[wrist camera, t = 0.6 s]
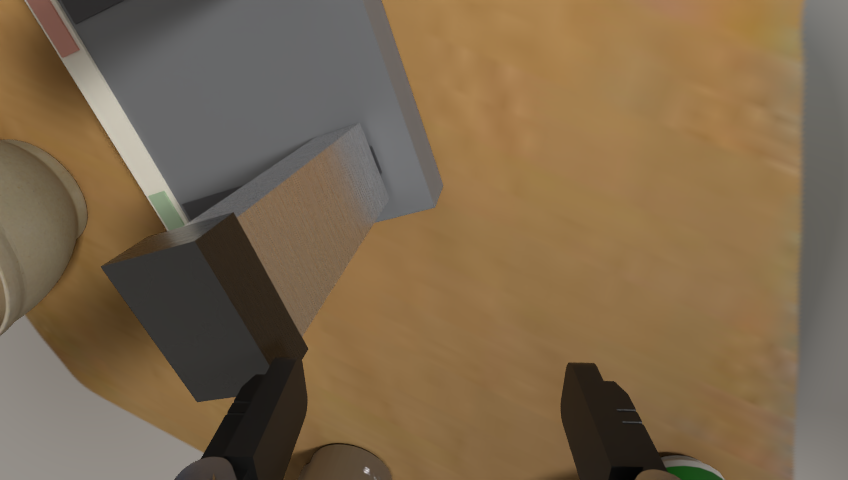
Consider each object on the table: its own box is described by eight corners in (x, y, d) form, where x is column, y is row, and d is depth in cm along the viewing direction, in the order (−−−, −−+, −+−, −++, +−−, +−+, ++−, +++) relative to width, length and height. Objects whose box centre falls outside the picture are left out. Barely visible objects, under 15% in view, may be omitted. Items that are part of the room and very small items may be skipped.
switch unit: (316, -194, 24) (279, -231, 20) (443, 185, 32) (434, 209, 29) (54, -43, 30) (-13, -50, 26) (220, 244, 38) (188, 271, 34)
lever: (362, 116, 26) (194, 241, 12) (395, 202, 29) (284, 390, 15) (309, 133, 28) (100, 266, 14) (345, 215, 30) (197, 402, 16)
